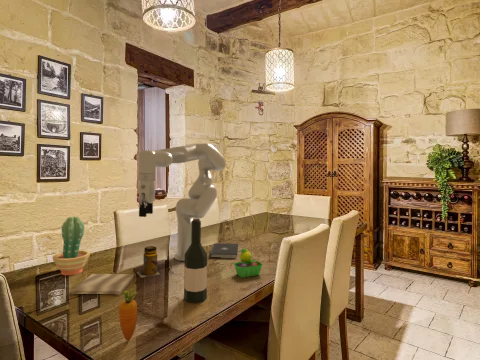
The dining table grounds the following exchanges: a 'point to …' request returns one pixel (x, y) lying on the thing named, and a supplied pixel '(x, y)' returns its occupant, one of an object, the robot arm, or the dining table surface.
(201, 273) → the wine bottle
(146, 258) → the condiment
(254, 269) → the fruit basket
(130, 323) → the carrot
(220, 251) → the book
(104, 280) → the board
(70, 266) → the potted cactus
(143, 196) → the robot arm
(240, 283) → the dining table surface
